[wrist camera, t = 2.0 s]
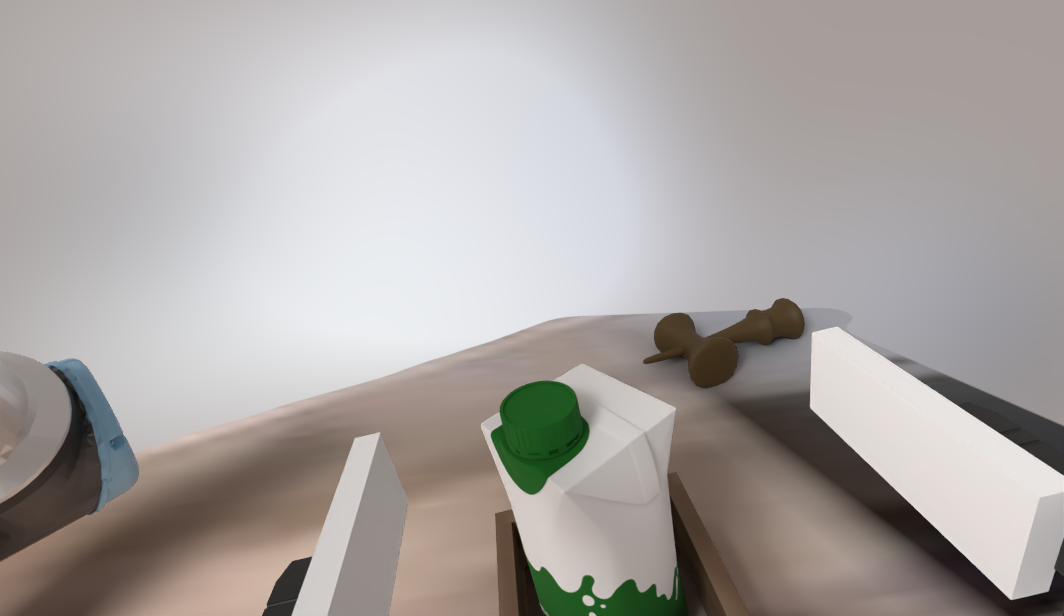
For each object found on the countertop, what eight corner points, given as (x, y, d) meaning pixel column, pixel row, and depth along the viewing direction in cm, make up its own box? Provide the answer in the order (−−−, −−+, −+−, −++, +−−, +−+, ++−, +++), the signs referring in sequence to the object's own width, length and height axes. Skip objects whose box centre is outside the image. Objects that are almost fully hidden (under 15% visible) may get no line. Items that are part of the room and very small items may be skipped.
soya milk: (528, 623, 36) (455, 393, 28) (617, 545, 40) (578, 325, 32) (616, 732, 29) (555, 470, 21) (713, 623, 33) (694, 371, 25)
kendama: (822, 354, 58) (666, 405, 55) (765, 324, 67) (627, 366, 63) (824, 307, 56) (661, 357, 52) (766, 282, 65) (622, 323, 61)
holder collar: (523, 778, 28) (504, 729, 26) (509, 557, 41) (495, 513, 39) (775, 719, 28) (776, 666, 26) (680, 518, 41) (676, 472, 39)
